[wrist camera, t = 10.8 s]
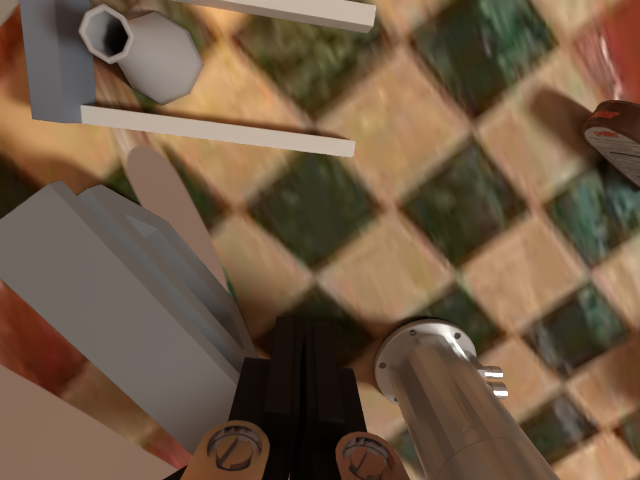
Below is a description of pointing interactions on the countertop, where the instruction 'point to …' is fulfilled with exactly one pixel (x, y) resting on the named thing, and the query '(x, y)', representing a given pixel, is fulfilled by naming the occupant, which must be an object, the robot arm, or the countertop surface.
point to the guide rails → (284, 3)
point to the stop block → (57, 59)
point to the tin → (616, 136)
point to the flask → (144, 51)
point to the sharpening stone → (130, 302)
